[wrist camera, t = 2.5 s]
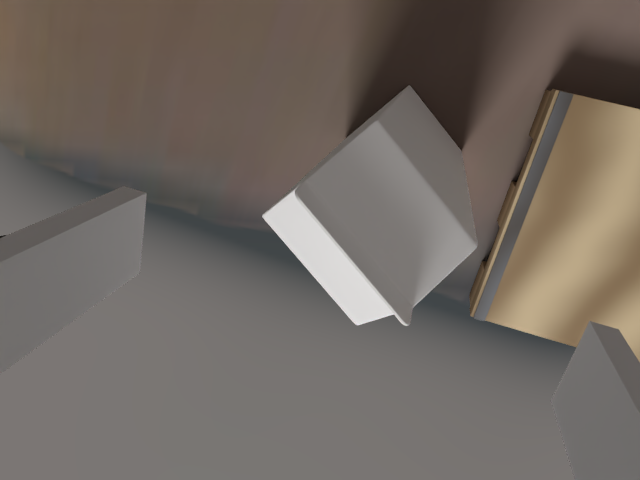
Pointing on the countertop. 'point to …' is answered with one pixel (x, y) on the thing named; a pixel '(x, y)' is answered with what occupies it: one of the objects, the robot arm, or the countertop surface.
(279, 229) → the milk
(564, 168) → the dock
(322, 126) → the countertop surface
